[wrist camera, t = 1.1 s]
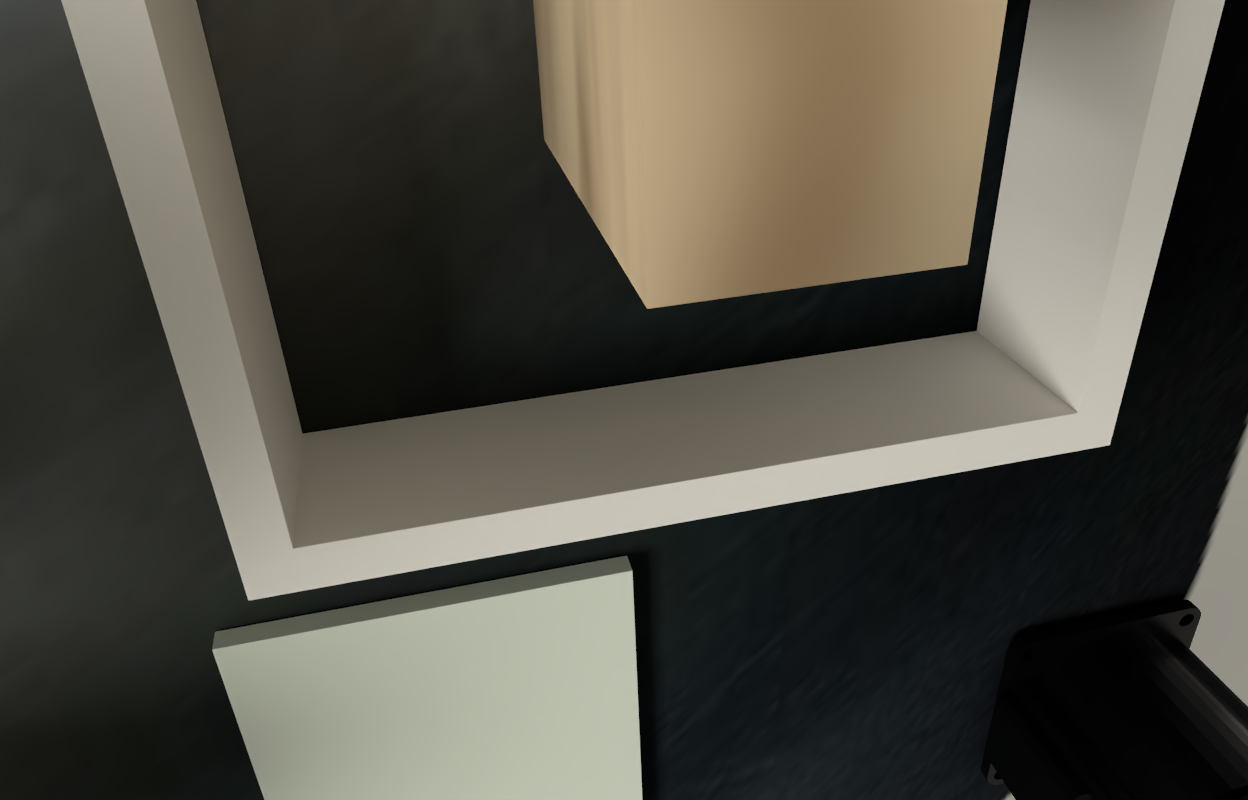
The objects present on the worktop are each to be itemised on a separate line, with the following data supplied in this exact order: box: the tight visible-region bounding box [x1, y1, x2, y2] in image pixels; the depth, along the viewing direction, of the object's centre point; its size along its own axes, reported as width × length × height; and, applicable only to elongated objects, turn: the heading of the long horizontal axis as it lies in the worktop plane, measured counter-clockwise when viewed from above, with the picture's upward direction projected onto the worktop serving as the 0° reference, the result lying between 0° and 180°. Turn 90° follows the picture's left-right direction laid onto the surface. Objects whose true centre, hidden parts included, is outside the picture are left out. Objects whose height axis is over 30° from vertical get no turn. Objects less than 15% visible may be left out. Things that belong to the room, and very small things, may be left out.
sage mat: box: [212, 556, 643, 800], centre depth 26 cm, size 10×10×1 cm
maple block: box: [533, 0, 1008, 309], centre depth 15 cm, size 4×4×8 cm
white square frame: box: [61, 0, 1225, 601], centre depth 17 cm, size 18×18×4 cm
